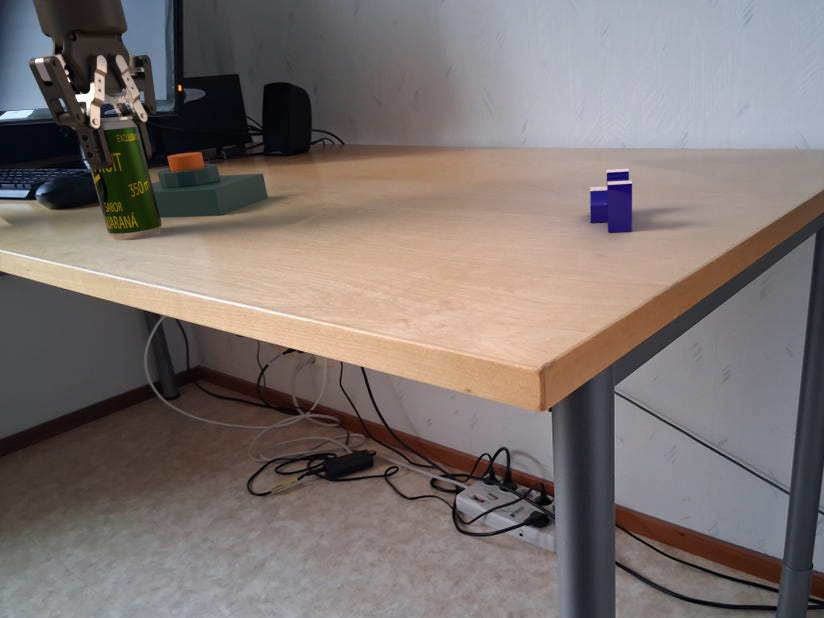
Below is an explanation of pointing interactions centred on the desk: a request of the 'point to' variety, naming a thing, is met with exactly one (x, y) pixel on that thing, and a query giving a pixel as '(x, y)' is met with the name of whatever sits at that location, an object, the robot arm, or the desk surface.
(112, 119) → the soda can
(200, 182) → the button base
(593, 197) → the cable holder
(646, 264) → the desk surface
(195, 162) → the orange push button
